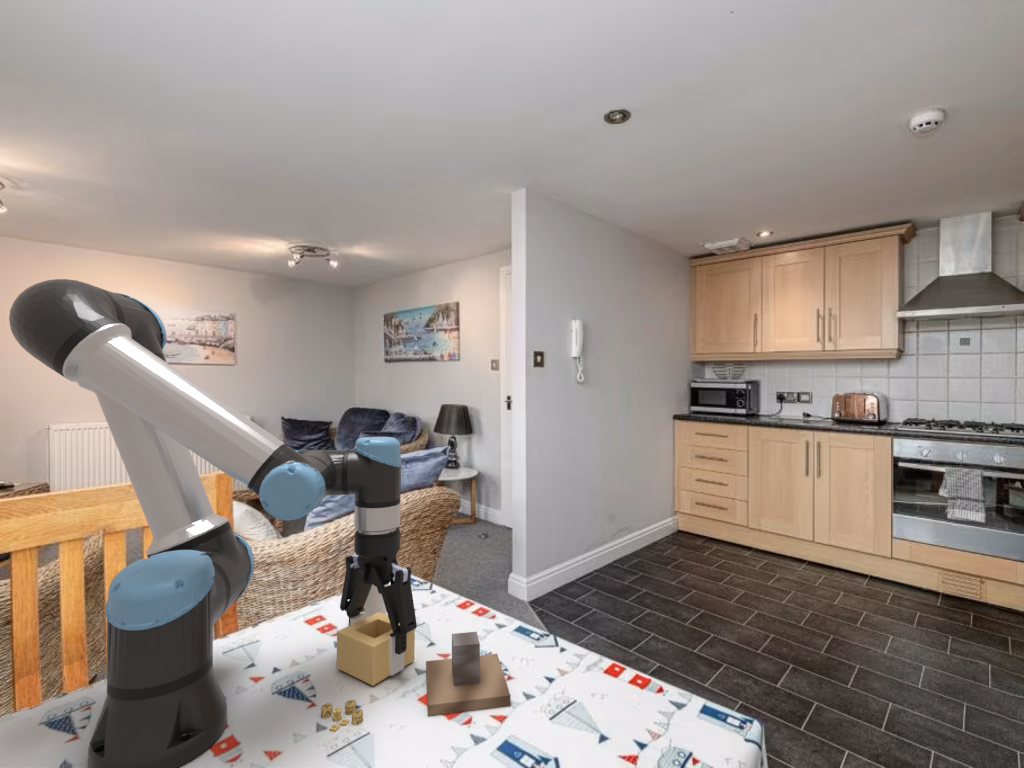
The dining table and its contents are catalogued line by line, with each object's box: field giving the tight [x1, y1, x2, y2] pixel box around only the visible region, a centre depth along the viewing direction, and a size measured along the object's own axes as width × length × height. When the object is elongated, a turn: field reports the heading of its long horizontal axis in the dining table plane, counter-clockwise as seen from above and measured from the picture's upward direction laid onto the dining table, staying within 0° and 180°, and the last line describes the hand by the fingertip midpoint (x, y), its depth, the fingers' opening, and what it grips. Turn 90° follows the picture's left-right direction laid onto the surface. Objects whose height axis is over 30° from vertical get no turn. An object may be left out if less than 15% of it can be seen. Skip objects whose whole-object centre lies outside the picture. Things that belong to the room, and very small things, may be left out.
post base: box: [425, 631, 511, 717], centre depth 79 cm, size 12×12×8 cm
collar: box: [336, 612, 416, 686], centre depth 85 cm, size 9×9×6 cm
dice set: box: [320, 699, 364, 733], centre depth 72 cm, size 5×5×2 cm
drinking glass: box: [354, 552, 390, 618], centre depth 99 cm, size 7×7×15 cm
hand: (376, 662), depth 85 cm, fingers closed on collar, 9 cm apart
